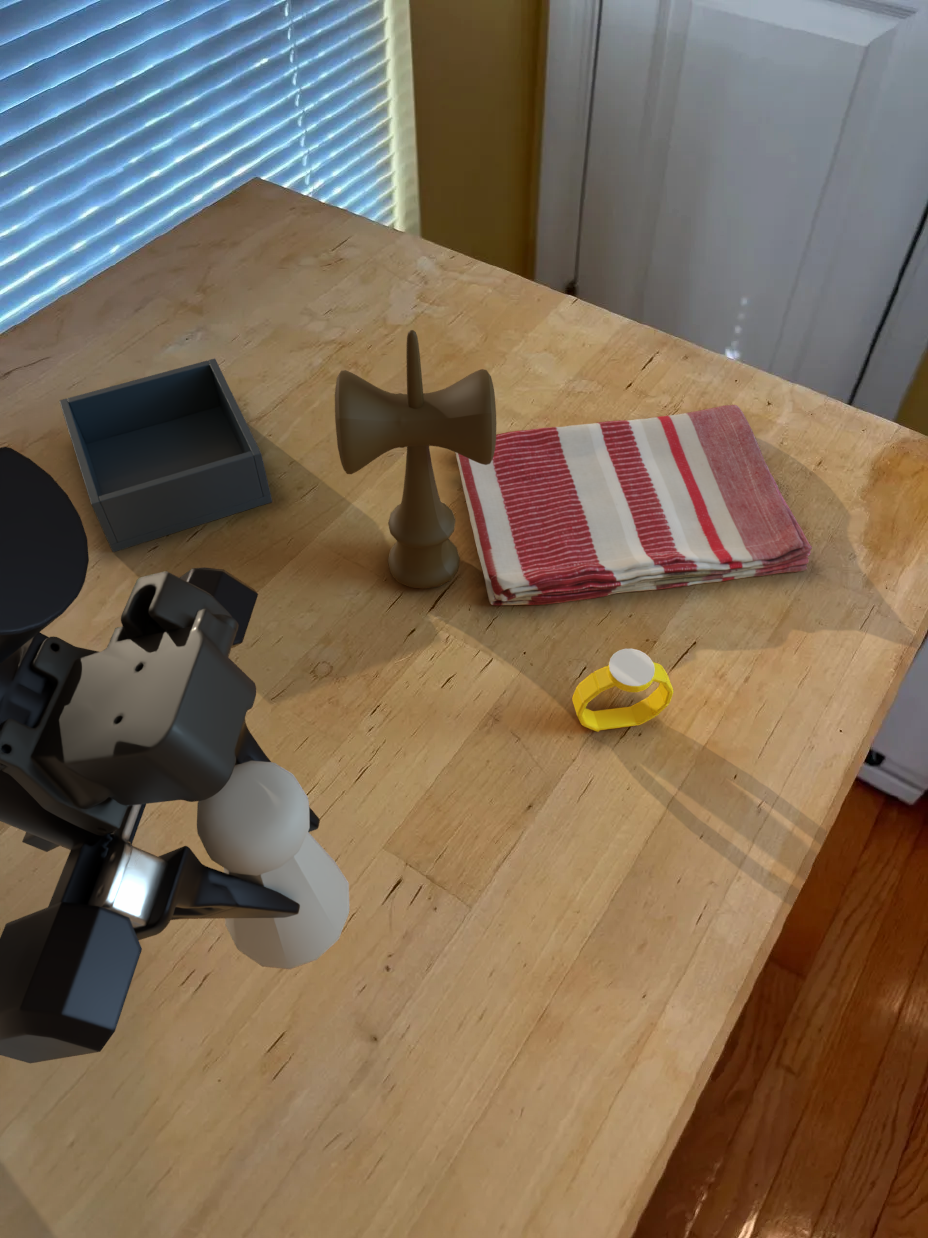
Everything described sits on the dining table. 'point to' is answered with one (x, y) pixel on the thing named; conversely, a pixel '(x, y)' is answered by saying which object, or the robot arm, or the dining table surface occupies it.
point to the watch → (628, 675)
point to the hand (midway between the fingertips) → (303, 868)
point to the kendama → (417, 456)
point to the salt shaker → (275, 864)
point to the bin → (165, 454)
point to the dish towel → (628, 508)
